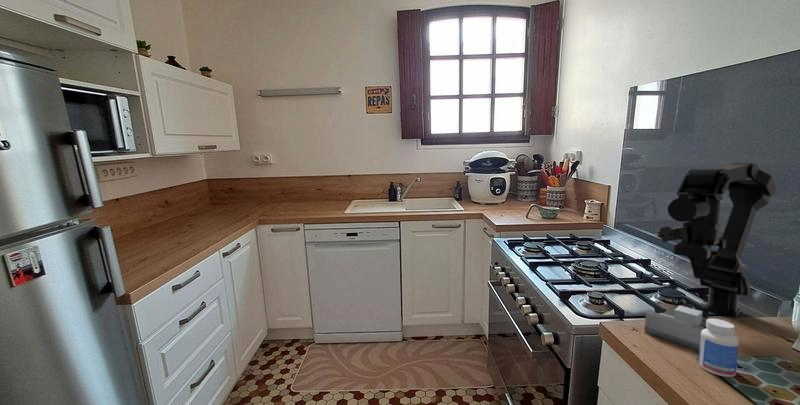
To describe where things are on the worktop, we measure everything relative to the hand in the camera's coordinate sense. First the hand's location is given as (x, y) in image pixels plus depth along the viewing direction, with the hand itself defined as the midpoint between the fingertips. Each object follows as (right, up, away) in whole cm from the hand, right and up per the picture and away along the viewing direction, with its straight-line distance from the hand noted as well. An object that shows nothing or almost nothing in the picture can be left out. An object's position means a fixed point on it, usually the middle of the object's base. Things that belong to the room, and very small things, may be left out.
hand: (697, 278), depth 82 cm
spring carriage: (-6, -10, -1) cm, 12 cm away
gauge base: (-7, -12, -3) cm, 14 cm away
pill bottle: (-13, -14, -18) cm, 26 cm away
